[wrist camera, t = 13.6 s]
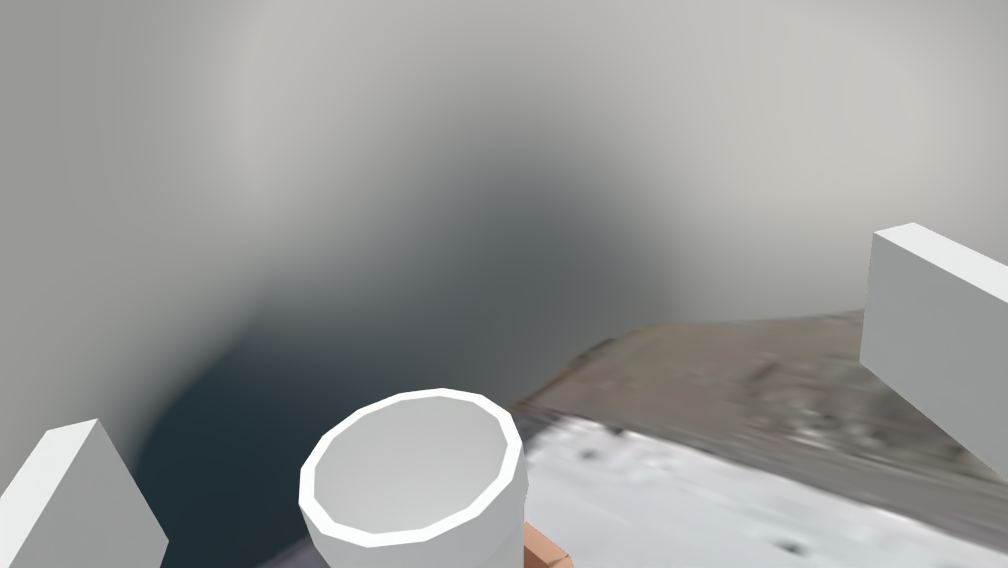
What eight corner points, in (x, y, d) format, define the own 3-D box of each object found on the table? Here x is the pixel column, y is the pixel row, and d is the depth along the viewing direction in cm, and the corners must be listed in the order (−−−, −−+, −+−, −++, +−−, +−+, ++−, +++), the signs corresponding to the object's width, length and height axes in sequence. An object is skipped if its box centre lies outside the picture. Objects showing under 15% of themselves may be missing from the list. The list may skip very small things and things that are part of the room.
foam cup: (407, 565, 38) (355, 386, 33) (562, 578, 36) (536, 389, 30) (340, 736, 30) (254, 538, 25) (534, 767, 28) (491, 557, 22)
